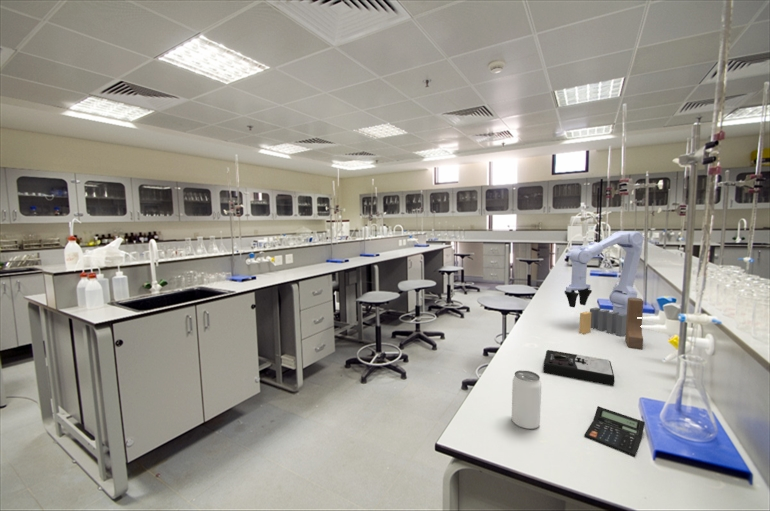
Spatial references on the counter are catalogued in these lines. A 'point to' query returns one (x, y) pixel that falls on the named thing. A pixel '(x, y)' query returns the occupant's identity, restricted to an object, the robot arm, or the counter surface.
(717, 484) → the counter surface
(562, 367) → the multimeter
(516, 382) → the can
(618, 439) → the calculator
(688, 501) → the counter surface
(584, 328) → the ochre domino
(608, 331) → the slate domino
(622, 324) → the slate domino
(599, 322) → the slate domino
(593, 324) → the slate domino
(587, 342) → the counter surface
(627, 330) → the wooden block
